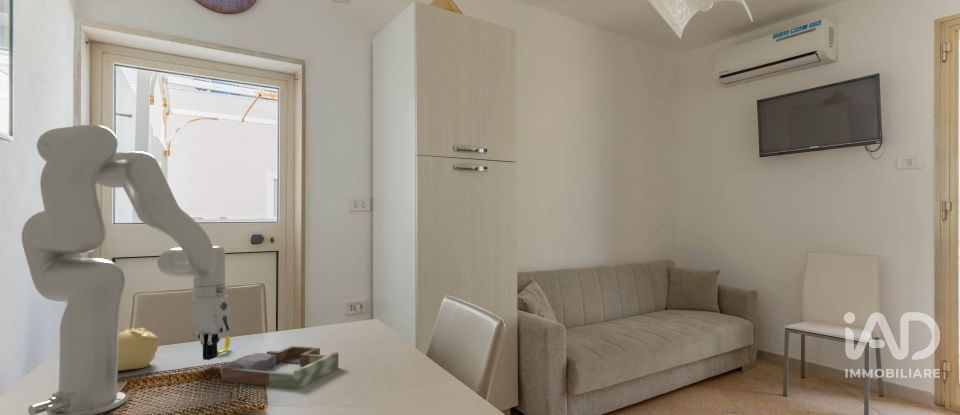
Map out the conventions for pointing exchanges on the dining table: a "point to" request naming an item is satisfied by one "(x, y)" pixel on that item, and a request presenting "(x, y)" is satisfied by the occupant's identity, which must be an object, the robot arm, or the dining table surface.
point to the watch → (227, 342)
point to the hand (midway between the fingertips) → (210, 358)
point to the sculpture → (136, 348)
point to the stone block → (253, 362)
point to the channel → (311, 371)
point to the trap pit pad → (292, 360)
